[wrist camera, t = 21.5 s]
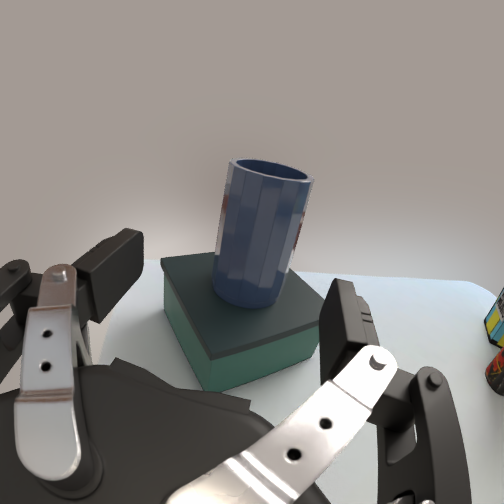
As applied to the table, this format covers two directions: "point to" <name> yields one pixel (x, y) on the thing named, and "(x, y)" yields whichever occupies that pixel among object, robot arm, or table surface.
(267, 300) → the cup
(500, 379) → the deodorant
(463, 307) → the table surface
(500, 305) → the carton
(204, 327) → the container
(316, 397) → the robot arm
